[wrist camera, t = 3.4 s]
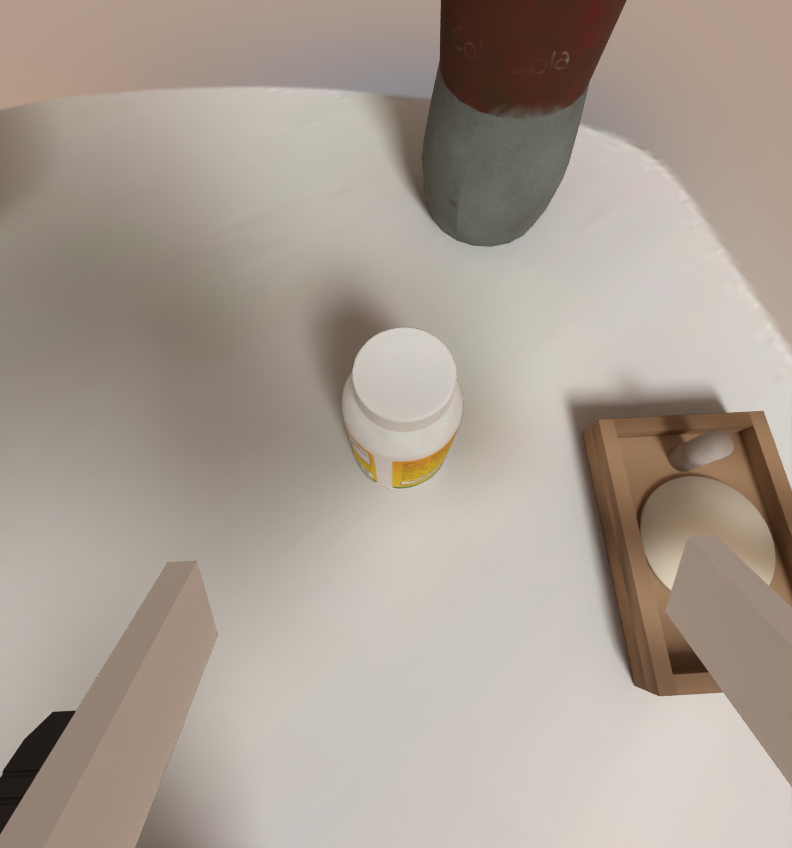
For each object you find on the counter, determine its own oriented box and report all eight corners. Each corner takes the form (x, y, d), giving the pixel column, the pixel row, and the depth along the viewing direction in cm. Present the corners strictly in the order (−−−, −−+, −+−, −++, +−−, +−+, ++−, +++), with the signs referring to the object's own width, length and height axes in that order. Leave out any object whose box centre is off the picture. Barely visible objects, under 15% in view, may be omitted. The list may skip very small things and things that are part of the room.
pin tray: (816, 674, 22) (909, 694, 18) (634, 685, 22) (687, 708, 18) (734, 424, 26) (794, 396, 22) (582, 432, 26) (615, 405, 22)
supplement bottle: (340, 473, 25) (308, 411, 16) (373, 391, 27) (361, 294, 18) (430, 505, 25) (450, 459, 16) (458, 419, 26) (490, 333, 17)
